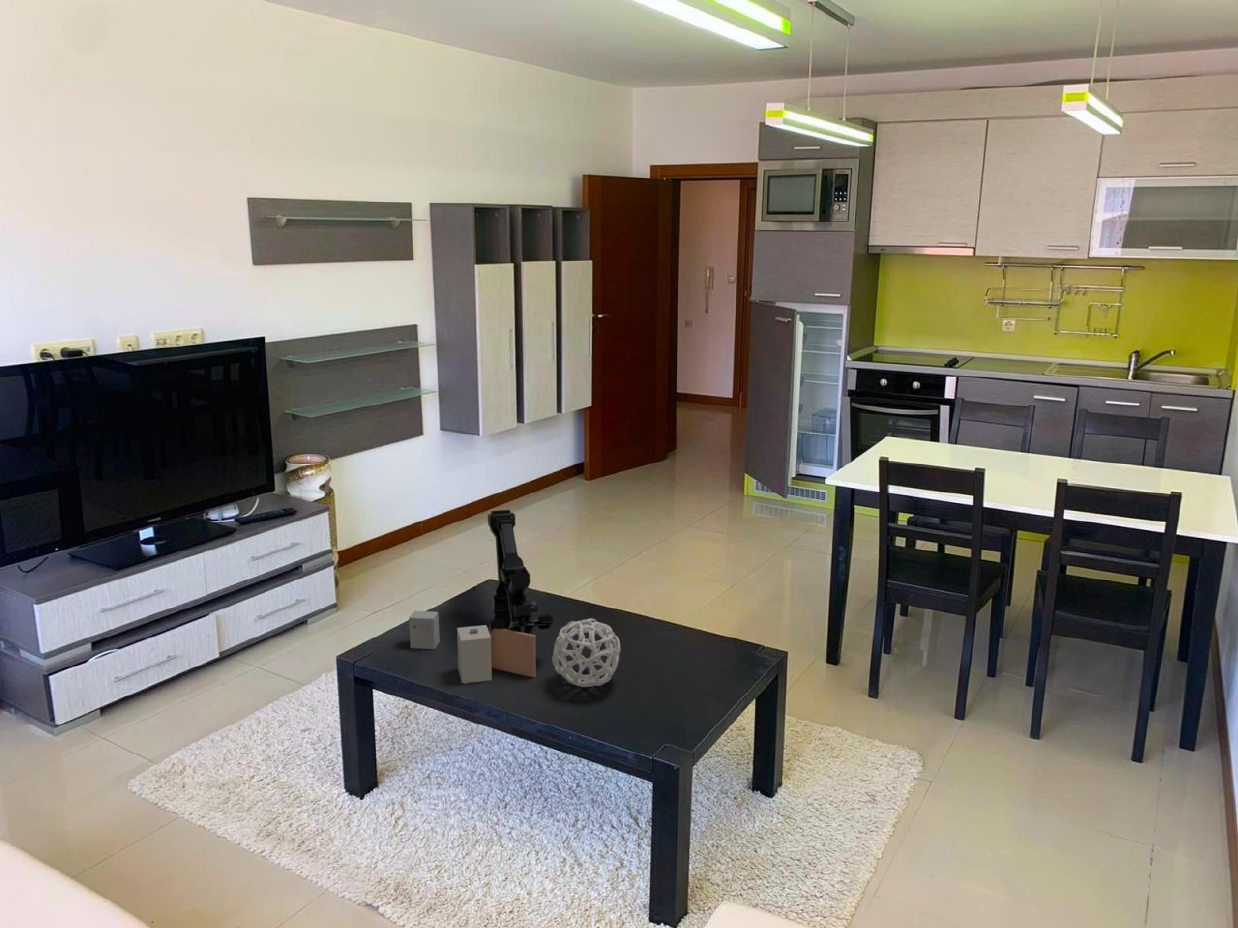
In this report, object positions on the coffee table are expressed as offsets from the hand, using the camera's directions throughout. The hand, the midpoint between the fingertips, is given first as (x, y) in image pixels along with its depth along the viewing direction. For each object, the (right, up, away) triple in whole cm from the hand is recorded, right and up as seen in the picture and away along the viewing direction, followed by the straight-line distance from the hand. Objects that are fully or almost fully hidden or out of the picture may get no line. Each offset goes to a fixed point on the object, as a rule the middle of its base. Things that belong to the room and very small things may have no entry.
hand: (524, 651), depth 272 cm
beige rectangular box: (-15, -7, 0) cm, 16 cm away
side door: (-4, -6, +2) cm, 8 cm away
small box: (-33, -2, +19) cm, 38 cm away
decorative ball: (+18, -9, -4) cm, 21 cm away
